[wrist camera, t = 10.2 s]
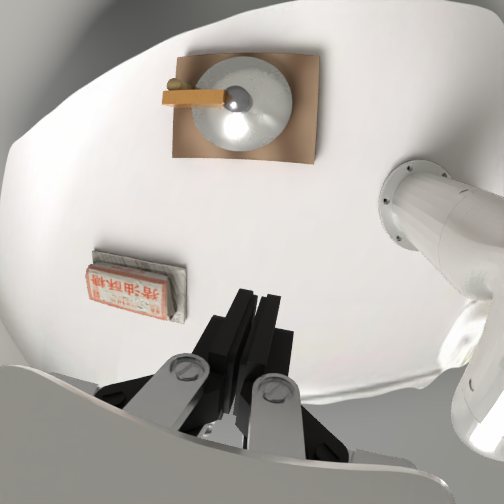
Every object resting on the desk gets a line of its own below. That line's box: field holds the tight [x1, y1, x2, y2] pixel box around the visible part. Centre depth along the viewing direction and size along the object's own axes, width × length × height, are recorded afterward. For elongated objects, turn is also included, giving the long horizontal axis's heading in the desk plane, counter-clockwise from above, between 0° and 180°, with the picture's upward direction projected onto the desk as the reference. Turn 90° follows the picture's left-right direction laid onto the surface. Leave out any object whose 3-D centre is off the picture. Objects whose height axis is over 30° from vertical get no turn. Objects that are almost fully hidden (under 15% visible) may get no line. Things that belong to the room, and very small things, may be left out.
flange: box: [162, 56, 292, 151], centre depth 29 cm, size 14×12×5 cm
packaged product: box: [85, 251, 186, 324], centre depth 44 cm, size 18×5×10 cm
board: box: [167, 53, 319, 164], centre depth 30 cm, size 18×14×7 cm
